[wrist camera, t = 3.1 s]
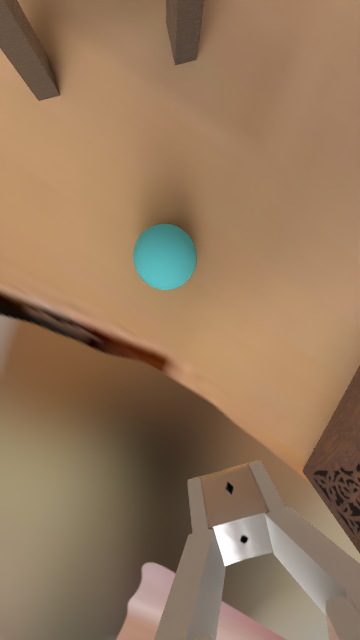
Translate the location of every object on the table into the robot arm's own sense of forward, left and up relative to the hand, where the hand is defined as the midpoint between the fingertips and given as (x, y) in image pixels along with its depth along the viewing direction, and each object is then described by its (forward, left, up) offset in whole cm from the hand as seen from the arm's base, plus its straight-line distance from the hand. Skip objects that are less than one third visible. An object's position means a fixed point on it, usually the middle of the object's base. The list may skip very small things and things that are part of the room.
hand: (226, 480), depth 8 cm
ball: (0, -10, -13) cm, 17 cm away
